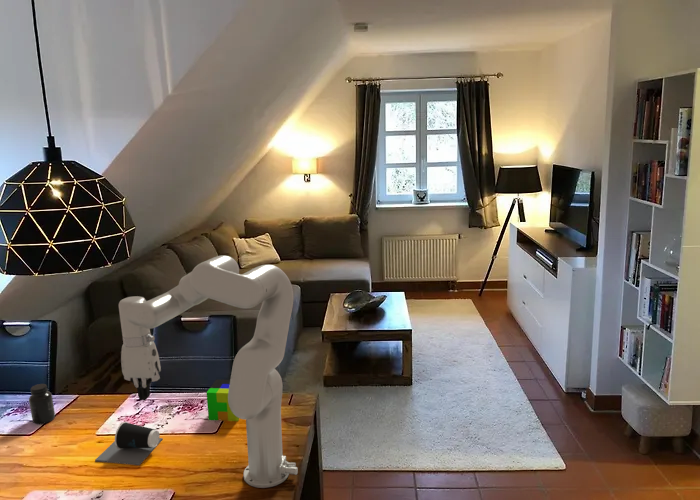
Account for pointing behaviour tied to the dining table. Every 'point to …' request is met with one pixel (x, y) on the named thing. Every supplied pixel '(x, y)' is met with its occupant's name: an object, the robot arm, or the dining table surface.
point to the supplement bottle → (41, 404)
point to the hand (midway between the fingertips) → (144, 398)
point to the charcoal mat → (125, 454)
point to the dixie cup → (135, 436)
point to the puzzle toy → (219, 402)
